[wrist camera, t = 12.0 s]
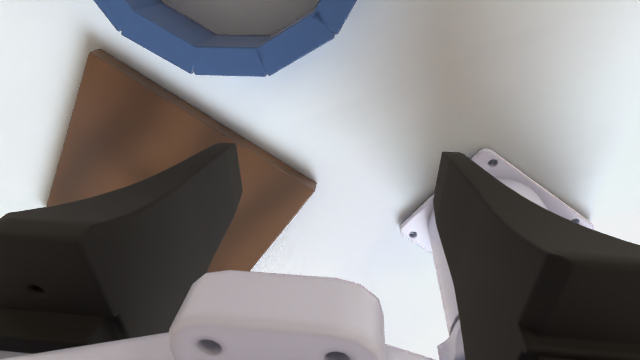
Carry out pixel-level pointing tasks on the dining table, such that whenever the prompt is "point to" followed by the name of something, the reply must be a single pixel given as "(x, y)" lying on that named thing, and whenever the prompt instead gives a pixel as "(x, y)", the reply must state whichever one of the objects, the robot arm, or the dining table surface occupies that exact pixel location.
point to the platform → (168, 155)
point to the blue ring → (223, 37)
